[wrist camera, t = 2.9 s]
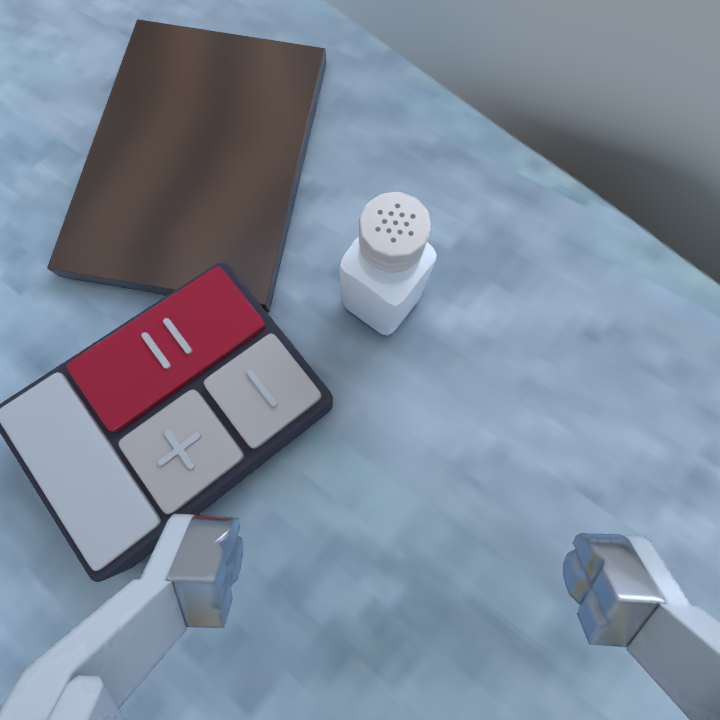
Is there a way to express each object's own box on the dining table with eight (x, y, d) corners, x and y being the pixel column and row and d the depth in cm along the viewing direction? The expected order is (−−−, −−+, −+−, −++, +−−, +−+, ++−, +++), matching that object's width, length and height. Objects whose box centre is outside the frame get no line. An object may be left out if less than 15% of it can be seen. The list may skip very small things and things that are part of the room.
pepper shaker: (338, 305, 28) (331, 229, 19) (374, 261, 29) (385, 167, 20) (387, 342, 28) (405, 282, 18) (423, 295, 28) (458, 215, 19)
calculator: (336, 396, 24) (85, 591, 20) (335, 408, 28) (127, 572, 25) (220, 251, 25) (-27, 409, 22) (236, 283, 30) (30, 420, 26)
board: (59, 276, 28) (46, 268, 27) (144, 34, 33) (136, 18, 32) (269, 311, 28) (265, 305, 27) (326, 62, 32) (325, 47, 31)
